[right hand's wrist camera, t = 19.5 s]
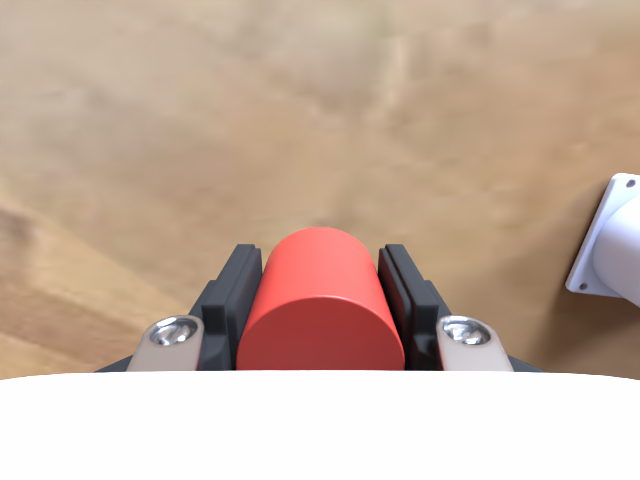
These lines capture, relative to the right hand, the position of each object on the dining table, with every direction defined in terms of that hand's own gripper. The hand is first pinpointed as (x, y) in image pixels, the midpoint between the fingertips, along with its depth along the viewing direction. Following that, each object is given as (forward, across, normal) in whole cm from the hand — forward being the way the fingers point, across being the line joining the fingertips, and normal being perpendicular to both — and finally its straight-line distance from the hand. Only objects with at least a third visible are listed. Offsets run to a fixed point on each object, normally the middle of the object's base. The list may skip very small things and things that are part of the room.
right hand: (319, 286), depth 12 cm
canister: (0, 0, 0) cm, 0 cm away
